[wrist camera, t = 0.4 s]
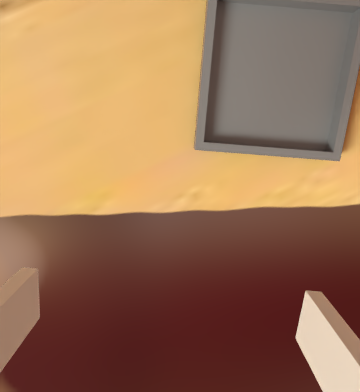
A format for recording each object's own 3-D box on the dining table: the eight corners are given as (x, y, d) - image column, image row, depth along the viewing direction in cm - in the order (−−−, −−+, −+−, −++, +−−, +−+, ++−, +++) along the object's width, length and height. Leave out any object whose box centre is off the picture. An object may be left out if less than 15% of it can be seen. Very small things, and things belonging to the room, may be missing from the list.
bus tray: (207, -7, 35) (209, -17, 32) (359, 6, 35) (374, -4, 33) (193, 147, 39) (194, 149, 37) (329, 158, 40) (339, 161, 37)
